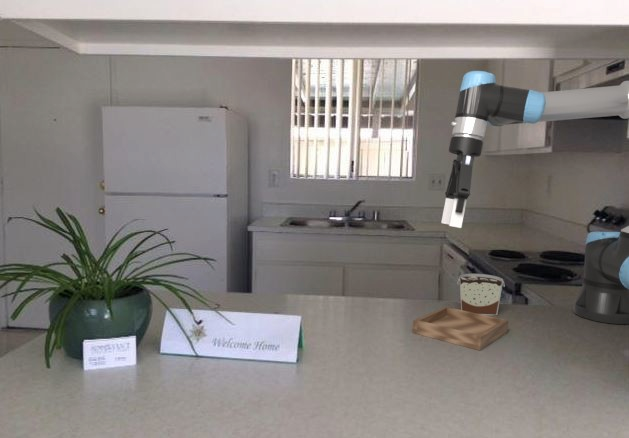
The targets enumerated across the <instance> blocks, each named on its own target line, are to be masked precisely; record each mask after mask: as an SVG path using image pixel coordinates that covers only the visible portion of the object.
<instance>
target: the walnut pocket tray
mask: <svg viewBox="0 0 629 438" xmlns="http://www.w3.org/2000/svg"><path fill="white" fill-rule="evenodd" d="M412 323H413V324H412V334H417V335H420V336H423V337H427V338H431V339H435V340H439V341H442V342H446V343H450V344H454V345H457V346H462V347H465V348H469V349H472V350H477V351H482V350H483V349H485V348H486V347H488V346H489V345H491V344H493V343H494V342H495V341H497V340H498V339H500V338H501V337H503V336H504V334H505V335H506V334H507V332H508V331H509V319H504V318H499V317H496V316H492V315H482V314H477V313H472V312H468V311H463V310H461V309H458V308H453V307H449V306H444V307H441V308H438V309H436V310H433V311H432V312H429V313H427V314H425V315H423V316H420V317H418V318H416V319H414V320H412ZM508 333H509V332H508Z"/></svg>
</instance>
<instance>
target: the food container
mask: <svg viewBox="0 0 629 438" xmlns="http://www.w3.org/2000/svg"><path fill="white" fill-rule="evenodd" d="M456 285H459V301H460V310H463V311H468V312H472V313H477V314H482V315H486V316H493V315H497V316H498V312H499V308H500V307H499V306H500V301H501V297H502V296H501V295H502V290H503V287H504V288H505V286H506V285H505V281H504V279H503V278H501V277H499V276H496V275H491V274H484V273H464V274H460V275H459V277H458V278H457V282H456Z"/></svg>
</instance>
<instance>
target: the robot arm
mask: <svg viewBox="0 0 629 438" xmlns="http://www.w3.org/2000/svg"><path fill="white" fill-rule="evenodd" d="M496 79H497V78H496V76H495V75H494V74H493V73H490V72H488V71H483V70H471V71H468V72H466V73H465V74H464V75H463V78H462V81H461V85H460V90H459V91H458V92H459V93H458V100H457V105H456V111H455V117H454V121H452V122H451V124H450V125H451V126H453V128H452V132H451V135H452V137H450V140H449V146H448V152H449V153H451V154H452V155H457V157H456V158H455V159H454V160H453V161H452V167H451V171H450V174H449V179H448V184H447V187H446V190H445V200H444V206H443V211H442V217H441V223H440V224H445V225H448V226H449V227H454V228H458V229H461V228H462V227H463V221H464V216H465V212H466V206H467V200H468V198H469V197H470V196H471V184H472V177H473V176H472V175H473V166H474V161H475V158H479V157H481V155H482V152H483V151H482V150H483V145H484V142H483V140H484V139H485V136H486V132H487V125H489V126H493V127H504V126H507V125H518V124H537V123H541V122H552V121H565V120H579V119H589V118H602V117H613V116H614V117H615V116H619V117H620V118H621V119H624V120H627V119H629V80H624V81H623V82H621V83H620V84H619V85H612V86H600V87H589V88H588V87H587V88H577V89H576V88H575V89H565V90H555V91H553V90H552V91H541V92H540V91H536V90H533V89H526V88H520V87H519V88H518V87H512V86H507V85H500V84H497V83H496V82H497V80H496ZM584 245H585V249H584V250H585V251H584V264H583V278H582V286H581V288H580V290H579V292H578V295H577V297H576V298H575V301H574V304H573V311H572V312H573V313H574V314H576V316H578V317H580V318H584V319H587V320H591V321H594V322H600V323H605V324H606V323H607V324H616V325H629V225H627V226H625V227H624V228H622V229H620V231H590V232H589V233H588V234H587V236H586V241H585V243H584Z"/></svg>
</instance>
